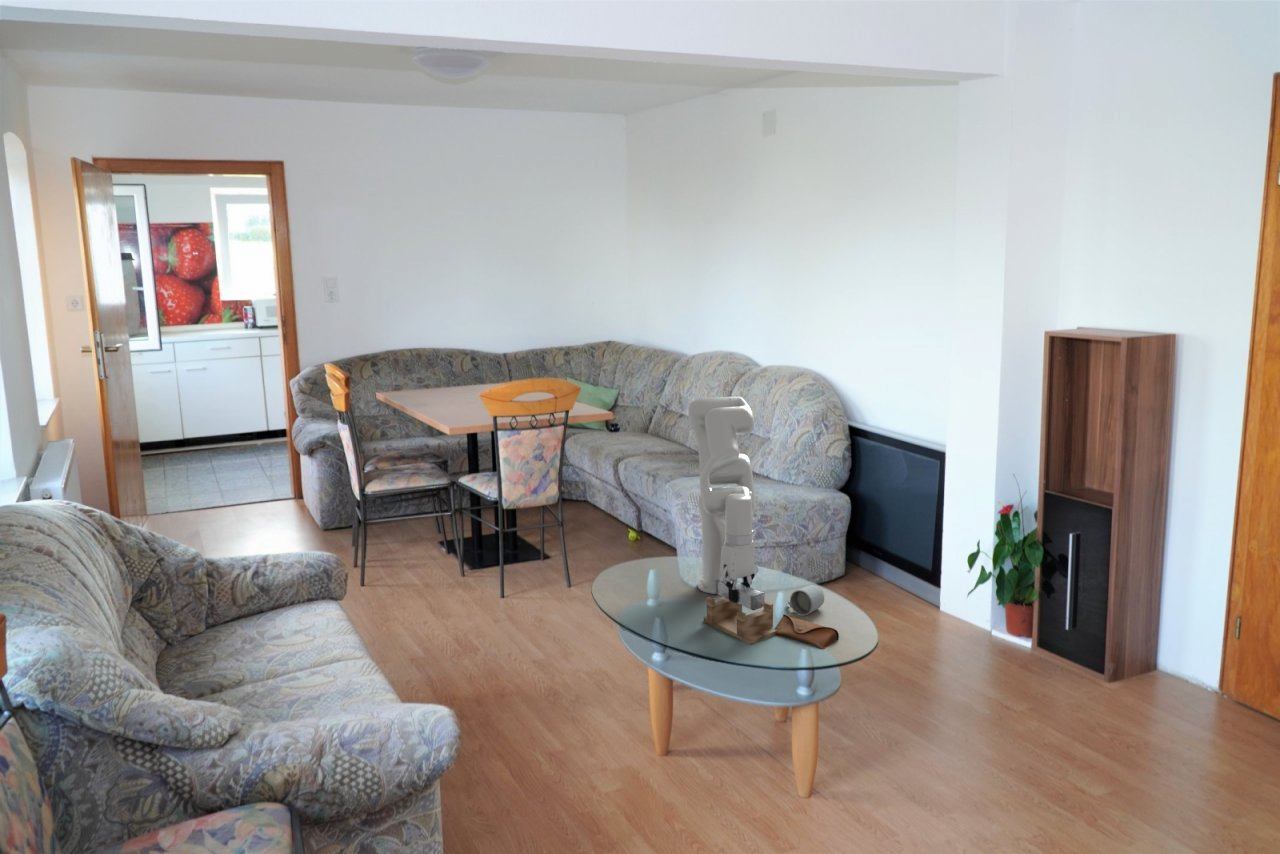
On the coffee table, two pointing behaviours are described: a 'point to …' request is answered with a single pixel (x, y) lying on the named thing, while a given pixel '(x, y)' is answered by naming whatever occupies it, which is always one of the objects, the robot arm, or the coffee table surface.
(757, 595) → the rail
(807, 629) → the sunglasses case
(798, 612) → the ceramic mug
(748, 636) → the rack
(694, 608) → the coffee table surface
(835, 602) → the coffee table surface
